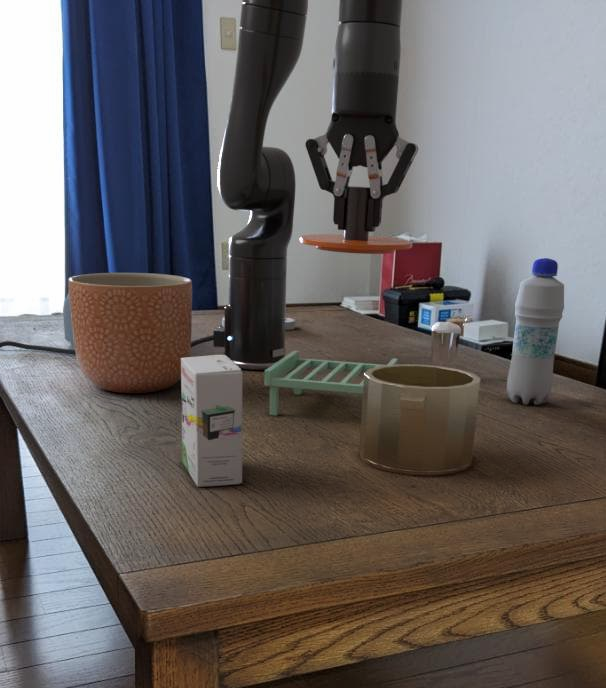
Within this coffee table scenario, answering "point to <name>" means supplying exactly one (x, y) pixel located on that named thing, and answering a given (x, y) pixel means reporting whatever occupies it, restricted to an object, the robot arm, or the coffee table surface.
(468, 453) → the pot
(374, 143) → the robot arm
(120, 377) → the planter
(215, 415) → the ink box
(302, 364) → the rack
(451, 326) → the milkshake
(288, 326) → the game controller
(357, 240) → the lid
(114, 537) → the coffee table surface
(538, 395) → the bottle
